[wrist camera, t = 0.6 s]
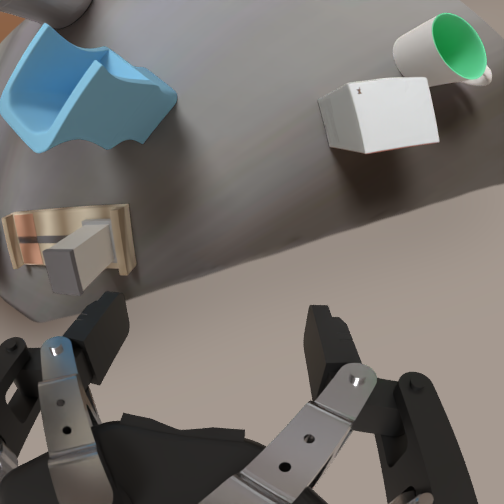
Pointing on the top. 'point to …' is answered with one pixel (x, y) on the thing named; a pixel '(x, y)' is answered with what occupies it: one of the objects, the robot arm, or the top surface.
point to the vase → (81, 95)
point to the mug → (443, 52)
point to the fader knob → (80, 257)
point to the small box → (380, 115)
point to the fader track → (66, 232)
